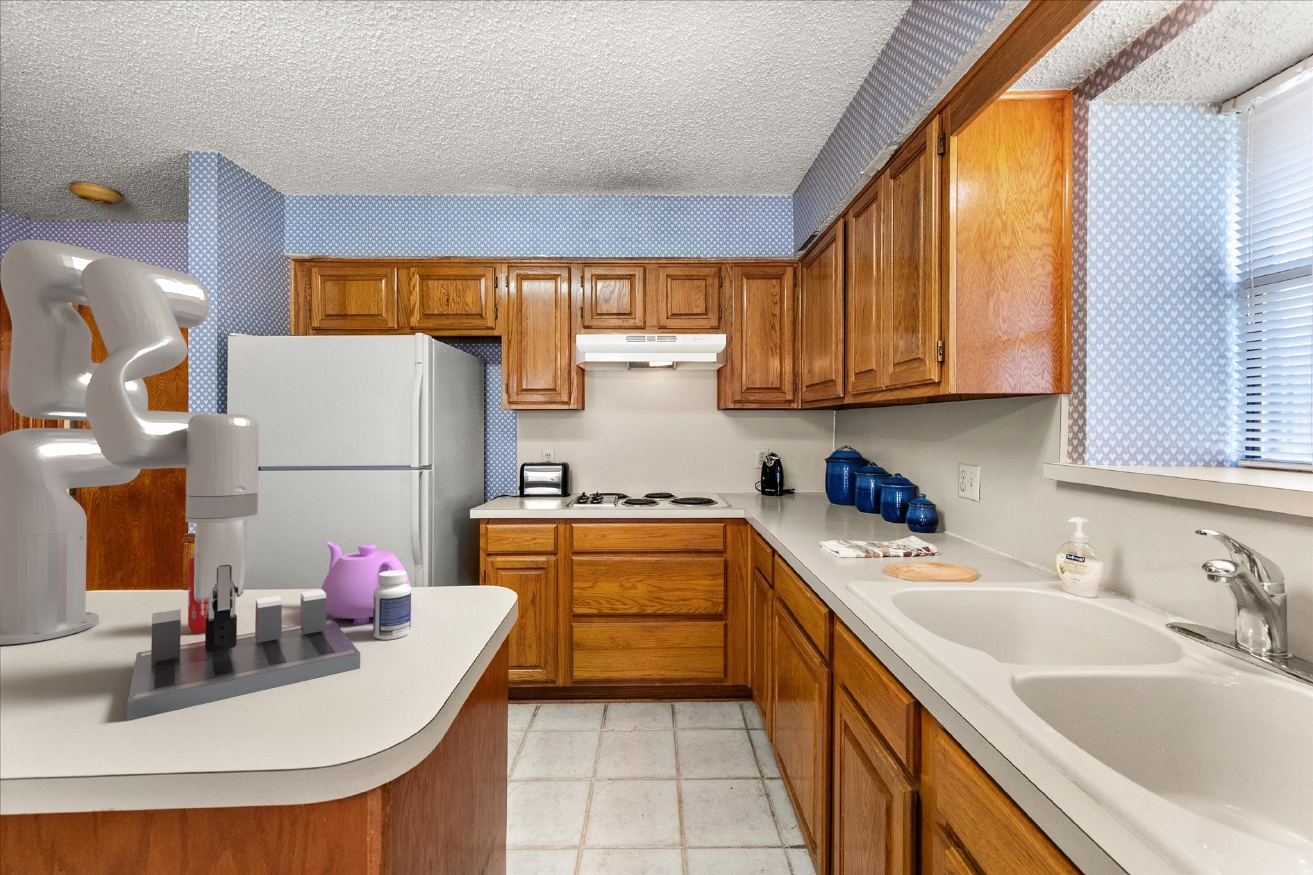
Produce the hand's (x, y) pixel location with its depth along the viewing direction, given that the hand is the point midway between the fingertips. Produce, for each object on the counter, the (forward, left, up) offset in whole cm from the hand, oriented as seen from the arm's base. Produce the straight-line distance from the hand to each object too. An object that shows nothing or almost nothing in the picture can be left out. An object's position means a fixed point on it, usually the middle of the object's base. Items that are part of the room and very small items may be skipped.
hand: (220, 647), depth 75 cm
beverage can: (-21, 0, -3) cm, 22 cm away
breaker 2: (-3, +6, -1) cm, 7 cm away
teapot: (-15, +21, -4) cm, 26 cm away
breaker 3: (-3, +11, -1) cm, 12 cm away
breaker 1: (-4, -6, -1) cm, 7 cm away
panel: (+1, +3, -3) cm, 4 cm away
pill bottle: (-1, +22, -4) cm, 22 cm away
